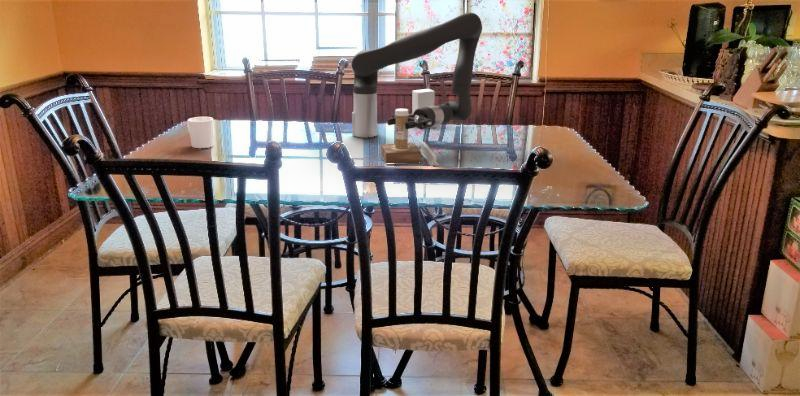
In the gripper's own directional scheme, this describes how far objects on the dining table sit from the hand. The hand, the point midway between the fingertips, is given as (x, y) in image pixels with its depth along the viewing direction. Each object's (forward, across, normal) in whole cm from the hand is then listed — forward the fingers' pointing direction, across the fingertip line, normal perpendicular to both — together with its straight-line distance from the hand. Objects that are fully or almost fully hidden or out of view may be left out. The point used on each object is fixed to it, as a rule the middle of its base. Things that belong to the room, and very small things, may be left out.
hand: (396, 124), depth 216 cm
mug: (+39, -64, +13) cm, 76 cm away
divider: (-10, +6, +13) cm, 17 cm away
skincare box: (-48, -32, +13) cm, 59 cm away
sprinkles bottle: (-2, 0, +9) cm, 9 cm away
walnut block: (-2, 0, +13) cm, 13 cm away
